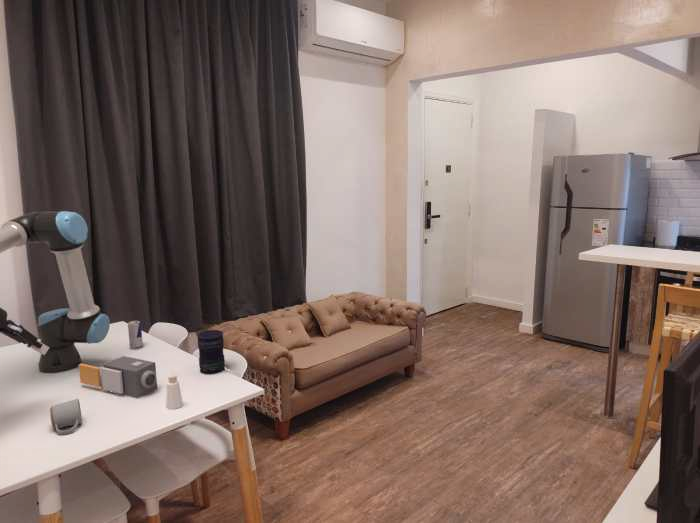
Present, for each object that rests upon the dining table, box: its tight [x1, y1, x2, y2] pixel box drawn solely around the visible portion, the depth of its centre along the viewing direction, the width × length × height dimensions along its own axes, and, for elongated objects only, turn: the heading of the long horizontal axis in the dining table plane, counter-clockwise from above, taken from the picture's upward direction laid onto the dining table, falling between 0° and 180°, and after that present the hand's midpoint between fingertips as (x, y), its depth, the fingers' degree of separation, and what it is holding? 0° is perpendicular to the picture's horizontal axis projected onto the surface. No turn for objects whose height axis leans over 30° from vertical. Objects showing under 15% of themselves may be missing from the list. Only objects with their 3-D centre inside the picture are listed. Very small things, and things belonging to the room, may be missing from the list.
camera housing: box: [102, 355, 158, 399], centre depth 182 cm, size 18×9×11 cm, turn 65°
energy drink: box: [127, 320, 144, 350], centre depth 225 cm, size 5×5×12 cm
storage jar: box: [197, 329, 226, 375], centre depth 199 cm, size 10×10×15 cm
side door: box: [77, 363, 124, 395], centre depth 181 cm, size 21×1×8 cm, turn 65°
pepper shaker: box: [165, 373, 184, 410], centre depth 169 cm, size 5×5×11 cm
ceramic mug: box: [49, 398, 83, 436], centre depth 156 cm, size 11×8×8 cm
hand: (45, 350), depth 169 cm, fingers closed
